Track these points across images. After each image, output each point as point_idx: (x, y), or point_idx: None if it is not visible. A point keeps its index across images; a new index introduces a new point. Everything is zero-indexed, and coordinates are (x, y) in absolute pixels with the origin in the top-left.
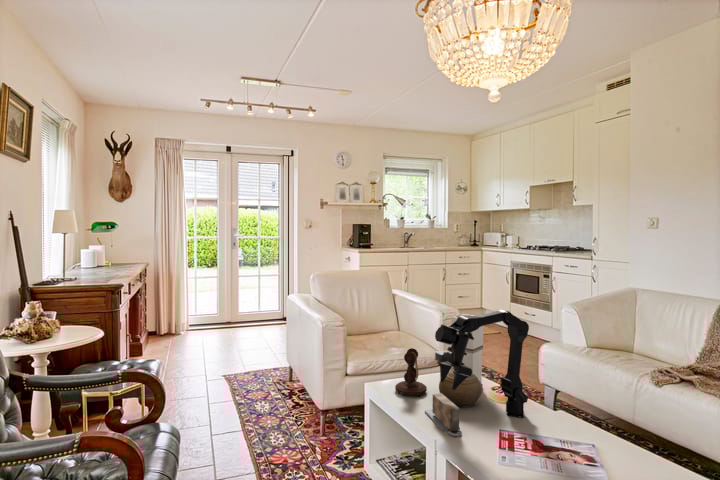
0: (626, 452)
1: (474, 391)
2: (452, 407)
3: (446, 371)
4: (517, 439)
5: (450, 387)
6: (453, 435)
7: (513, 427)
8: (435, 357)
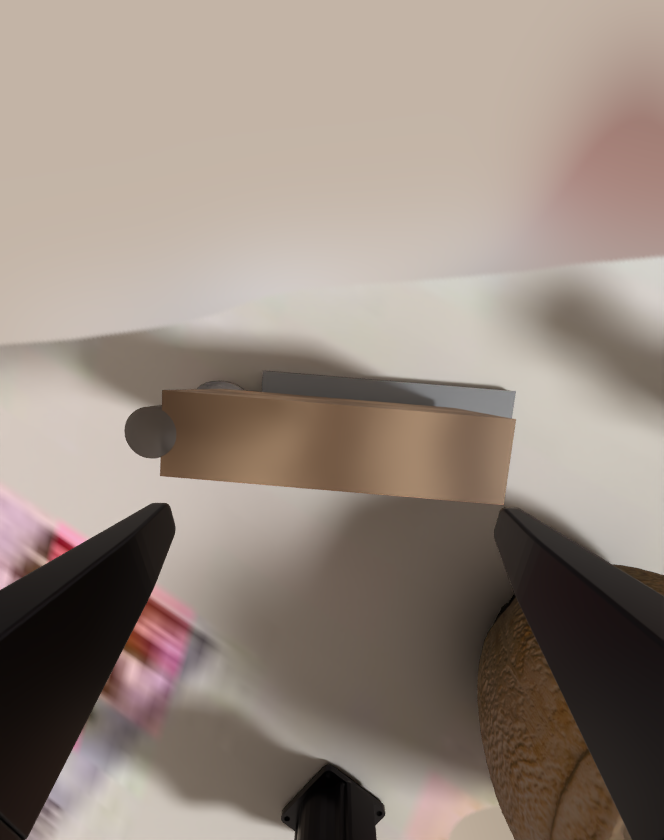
0: None
1: (494, 778)
2: (193, 433)
3: (638, 769)
4: None
5: None
6: None
7: (210, 710)
8: None
